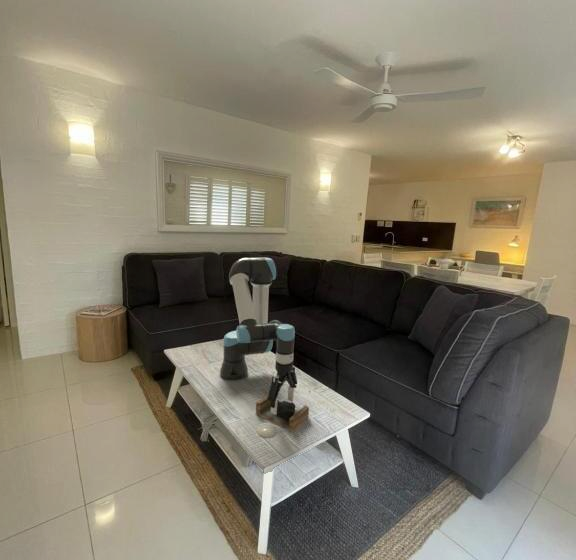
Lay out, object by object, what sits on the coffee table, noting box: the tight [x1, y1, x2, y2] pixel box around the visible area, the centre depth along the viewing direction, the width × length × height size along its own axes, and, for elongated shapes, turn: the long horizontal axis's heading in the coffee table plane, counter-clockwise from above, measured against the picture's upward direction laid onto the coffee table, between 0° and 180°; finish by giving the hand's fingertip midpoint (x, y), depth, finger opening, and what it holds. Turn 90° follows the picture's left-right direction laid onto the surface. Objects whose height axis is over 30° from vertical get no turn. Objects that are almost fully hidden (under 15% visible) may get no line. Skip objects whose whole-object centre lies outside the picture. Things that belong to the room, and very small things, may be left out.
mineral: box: [276, 399, 297, 421], centre depth 133 cm, size 10×9×6 cm
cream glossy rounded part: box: [256, 422, 277, 438], centre depth 126 cm, size 8×8×1 cm
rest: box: [255, 394, 310, 433], centre depth 136 cm, size 20×12×5 cm, turn 54°
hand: (282, 406), depth 135 cm, fingers open, 11 cm apart
